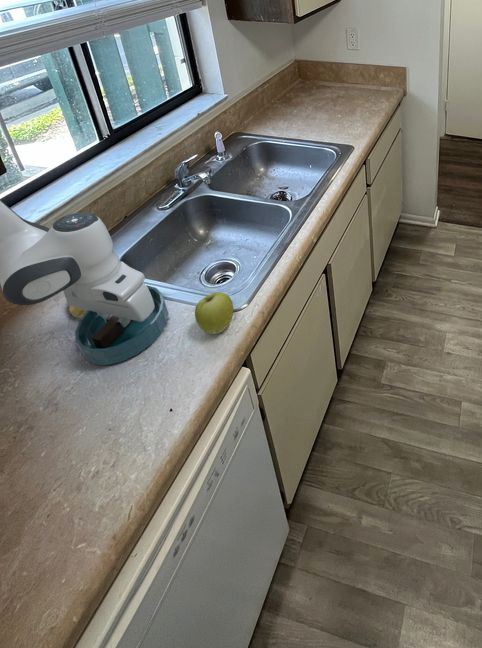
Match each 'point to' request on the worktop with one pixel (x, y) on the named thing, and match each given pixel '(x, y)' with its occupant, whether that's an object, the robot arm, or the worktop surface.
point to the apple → (214, 312)
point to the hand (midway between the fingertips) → (118, 322)
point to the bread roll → (77, 312)
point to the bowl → (122, 334)
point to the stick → (108, 333)
